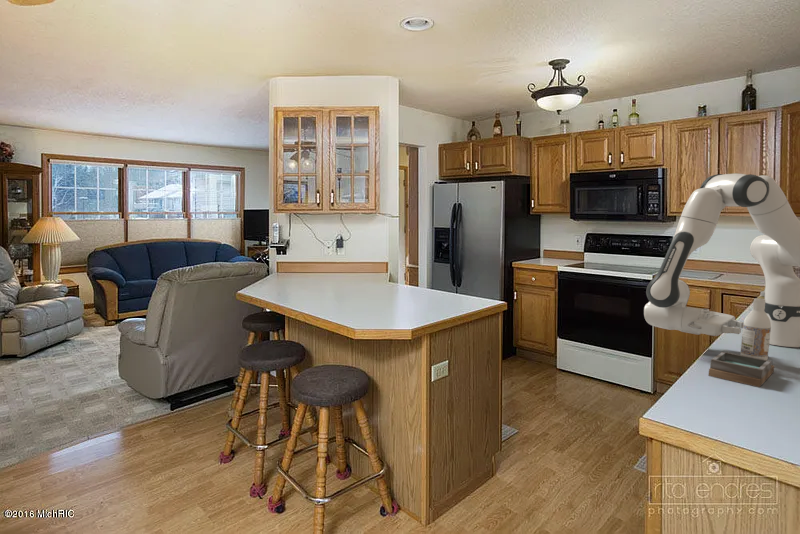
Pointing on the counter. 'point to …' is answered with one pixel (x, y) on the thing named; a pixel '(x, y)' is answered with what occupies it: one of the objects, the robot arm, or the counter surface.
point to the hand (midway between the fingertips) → (744, 328)
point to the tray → (741, 368)
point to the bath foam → (756, 332)
